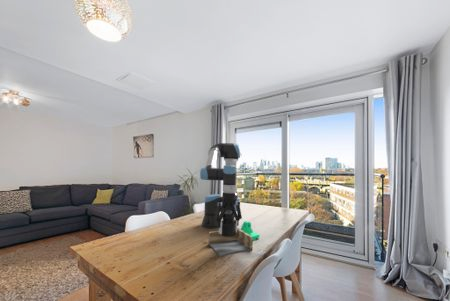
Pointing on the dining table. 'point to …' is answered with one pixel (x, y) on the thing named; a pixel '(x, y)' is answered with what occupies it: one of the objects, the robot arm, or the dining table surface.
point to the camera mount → (249, 230)
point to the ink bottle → (228, 224)
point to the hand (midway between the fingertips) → (228, 232)
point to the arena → (230, 242)
